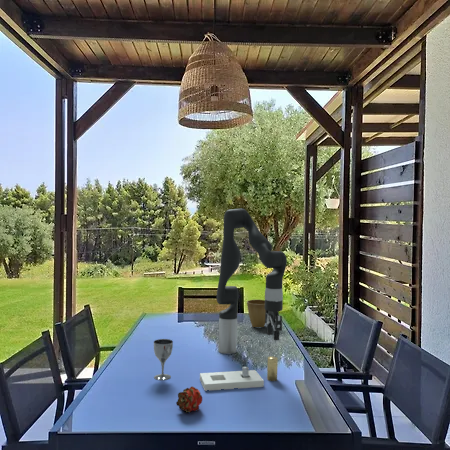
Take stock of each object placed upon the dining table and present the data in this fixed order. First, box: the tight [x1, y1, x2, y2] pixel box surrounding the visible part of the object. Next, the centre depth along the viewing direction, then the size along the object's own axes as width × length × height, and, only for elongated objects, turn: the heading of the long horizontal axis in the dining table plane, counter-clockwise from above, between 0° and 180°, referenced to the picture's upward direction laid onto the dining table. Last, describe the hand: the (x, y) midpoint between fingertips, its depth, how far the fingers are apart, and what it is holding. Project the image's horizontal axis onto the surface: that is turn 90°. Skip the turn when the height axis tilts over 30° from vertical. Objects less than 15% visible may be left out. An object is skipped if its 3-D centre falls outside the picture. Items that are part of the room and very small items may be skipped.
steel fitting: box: [241, 366, 250, 378], centre depth 169 cm, size 3×3×6 cm
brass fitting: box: [266, 355, 279, 382], centre depth 173 cm, size 4×4×9 cm
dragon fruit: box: [175, 386, 203, 413], centre depth 143 cm, size 8×8×12 cm
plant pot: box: [246, 299, 266, 328], centre depth 262 cm, size 15×15×16 cm
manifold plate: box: [199, 369, 265, 392], centre depth 168 cm, size 12×24×2 cm, turn 103°
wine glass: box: [153, 338, 174, 381], centre depth 173 cm, size 8×8×15 cm
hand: (272, 337), depth 173 cm, fingers open, 8 cm apart
